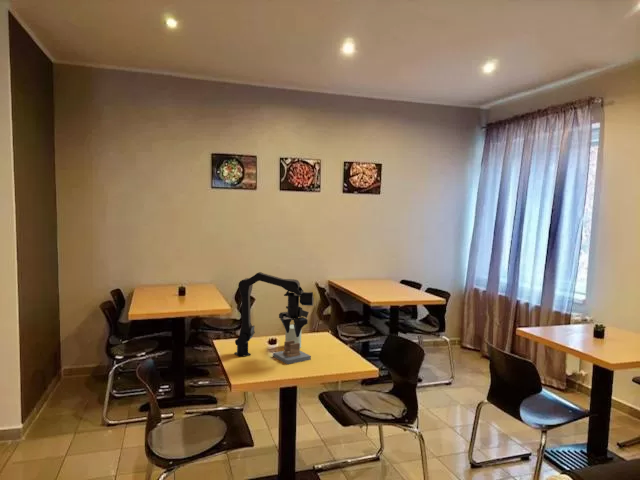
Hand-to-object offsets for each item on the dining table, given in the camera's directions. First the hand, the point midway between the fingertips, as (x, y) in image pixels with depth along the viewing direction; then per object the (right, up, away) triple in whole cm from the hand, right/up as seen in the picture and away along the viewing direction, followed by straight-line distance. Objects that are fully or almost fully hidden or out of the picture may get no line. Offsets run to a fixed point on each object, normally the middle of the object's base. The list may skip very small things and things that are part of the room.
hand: (292, 334), depth 233 cm
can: (-1, -11, +20) cm, 23 cm away
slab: (0, -12, +1) cm, 12 cm away
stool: (-1, -10, +1) cm, 10 cm away
